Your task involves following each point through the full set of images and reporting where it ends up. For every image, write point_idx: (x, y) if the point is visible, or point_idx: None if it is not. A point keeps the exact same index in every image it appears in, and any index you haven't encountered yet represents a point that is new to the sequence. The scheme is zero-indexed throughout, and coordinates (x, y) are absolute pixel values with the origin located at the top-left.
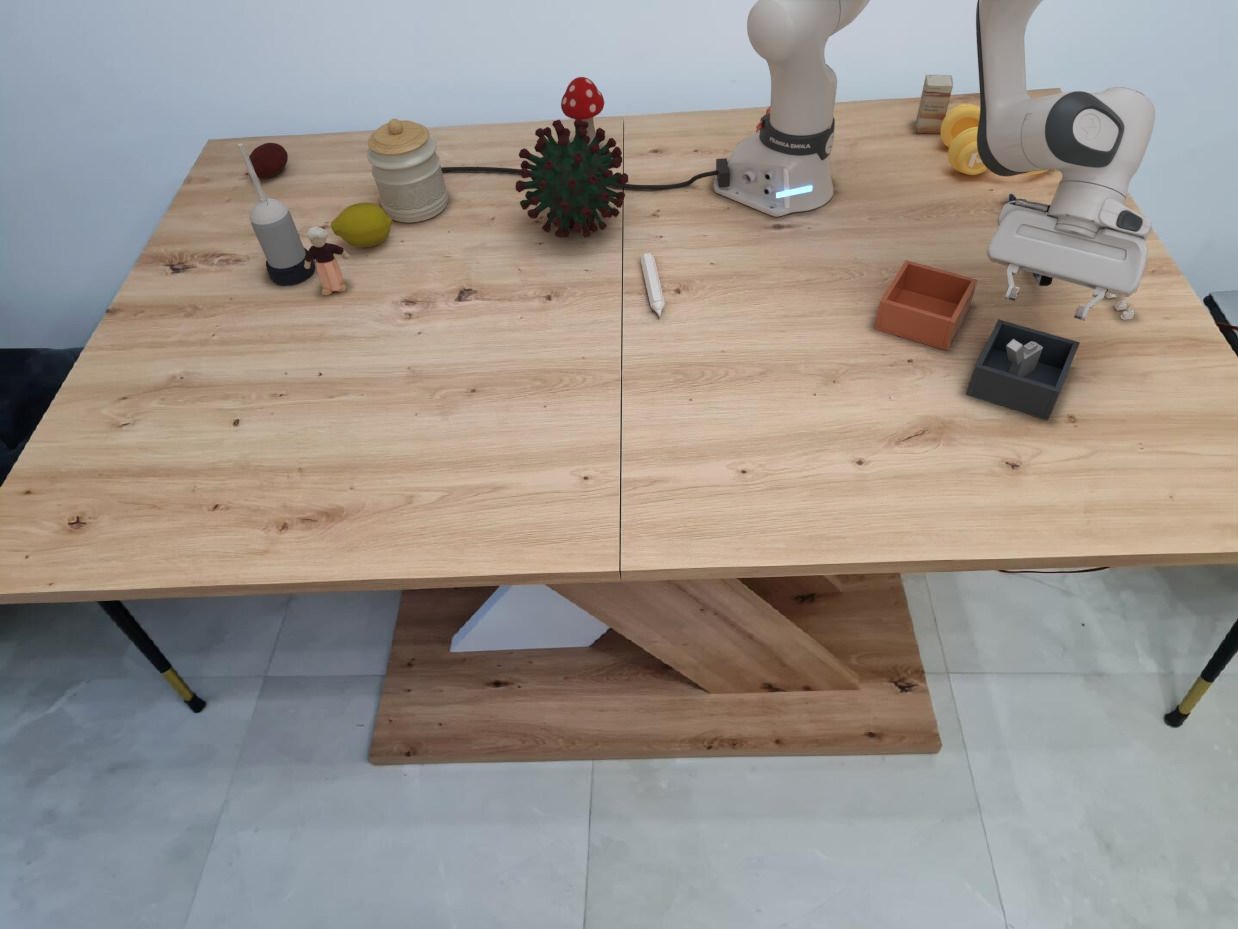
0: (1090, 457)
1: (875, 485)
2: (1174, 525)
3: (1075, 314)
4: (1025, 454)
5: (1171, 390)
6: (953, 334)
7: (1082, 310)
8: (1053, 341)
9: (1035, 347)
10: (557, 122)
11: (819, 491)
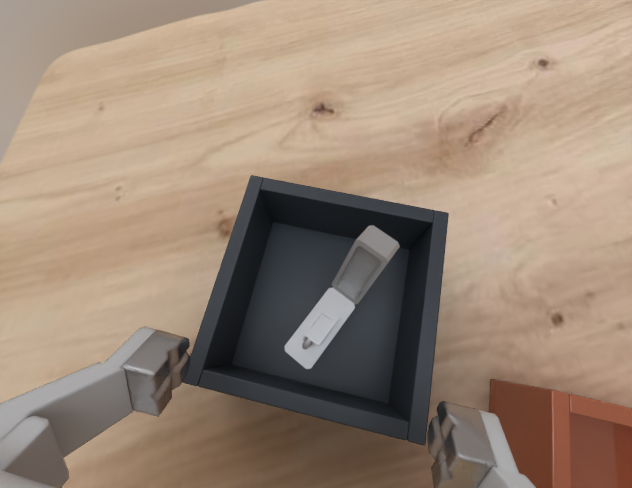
0: (203, 151)
1: (505, 34)
2: (110, 67)
3: (181, 338)
4: (304, 133)
5: (13, 360)
6: (504, 418)
7: (146, 350)
8: (255, 380)
9: (306, 325)
10: None
11: (573, 10)
